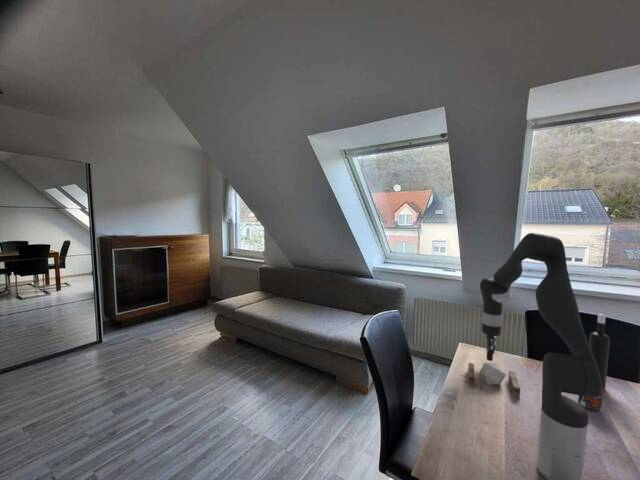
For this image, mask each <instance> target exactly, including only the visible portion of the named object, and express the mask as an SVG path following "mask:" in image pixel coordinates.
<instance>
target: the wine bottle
mask: <svg viewBox="0 0 640 480" xmlns="http://www.w3.org/2000/svg"><path fill="white" fill-rule="evenodd" d="M606 318H607V315H606V314H604V313H597V325H596V326H597V327H596V331H593V332H590V333H589V340H588V344H589V346H590V349H591V351H592V354H593V356H594V359H595V361H596V364H597V366H598V369H599V373H600V376H601V381H602V387H603V390H604V391H605V390H606V383H607V373H608V372H607V371H608V366H609V365H608V363H609V354H610V344H611V338H610V336H609V335H608V334H606V333H605V324H606Z"/></svg>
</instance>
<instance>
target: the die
mask: <svg viewBox="0 0 640 480" xmlns="http://www.w3.org/2000/svg"><path fill="white" fill-rule="evenodd" d="M478 374H479V375H480V376H481V378H482V380H483V381H484V382H485V384H486V385H487V386H499V385H501V384H502V382H503V381H504V379H505V377H506V376H507V375H506V372H504V370H503V369H502V368H501V367H500V366H499V364H498V363H497V362H484V364H483V365H482V367H481V369H480V370H479V372H478Z"/></svg>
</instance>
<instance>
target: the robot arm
mask: <svg viewBox="0 0 640 480" xmlns="http://www.w3.org/2000/svg"><path fill="white" fill-rule="evenodd" d="M512 251H513V252H512V253H511V254H510V256H509V258H508V259H507V261H505V263H504V264H503V265H502V266H501V267H500V268H498V269H497V270H496V272H495V273H494V274H493V277H490V278H489V277H487V278H482V279H481V281H480V283H479V289H480V293H481V297H482V302H483V305H482V306H483V307H482V308H483V309H482V310H483V311H482V314H481V332H482V333H483V334H485V336H484V337H485V347H486V360H487V361H490V362H493V360H494V354H495V351H496V344H497V337H499V336H501V335H502V327H503V314H502V312H503V303H502V301H501V300H500V299H496V298H493V295H504V294H506V293H508V291H509V290H510V289H511V288H510V287H511V286H512V285H513V283H515V282H516V281H517V280H518V279H519V278H520V277H521V276H522V273H523V265H522V264H523V261H525V260H526V259H529V260H534V261H536V262H537V261H538V262H542V263H544V264H545V266H546V275H545V276H544V277H543V279H542V280H541V281H540V282H539V284H538V286H537V288H536V289H535V300H536V305H537V309H538V312H539V313H538V314H539V315H540V316H541V318H542V319H543V320H544V321H545V323H547V324H548V325H549V326H550V327H551V329H553V330H554V331H555V333H556V334H558V336H559V337H560V338H561V339H562V340H563V341H564V343H565V344H566V346H567V348H568V349H569V352H570V355H569V354H563V353H556V352H547V353H545V354H544V356H543V359H542V371H541V372H542V373H541V374H542V376H541V377H542V381H541V383H542V384H541V386H542V387H541V408H540V409H541V410H540V421H539V422H540V423H539V432H538V433H539V435H538V444H537V445H538V446H537V459H536V467H537V470H538V472H539V473H540V475H541V476H542V477H543V478H544V479H545V480H546V479H547V480H583V479H584V477H583V476H584V466H585V457H586V456H585V455H586V445H587V436H588V435H587V434H588V425H589V414H588V410H586V409H584V408H583V407H582V406H581V405H580V404H579V403H578V401H576V400H574V399H571V398H570V397H568V396H566V395H564V394H570V395H574V396H575V395H576V396H579V395H580V396H585V397H591V398H597V397H599V396H600V395H601V392H602V381H601V376H600V373H599V369H598V366H597V364H596V361H595V359H594V356H593V354H592V351H591V349H590V346H589V340H588V339H587V336H586V333H585V330H584V327H583V324H582V319H581V315H580V311H579V306H578V303H577V299H576V295H575V294H574V290H573V287H572V283H571V280H570V276H569V271H568V266H567V257H566V252H565V251H566V249H565V246H564V243H563V241H562V240H561V239H560V238H559V237H557V236H553V235H547V234H543V233H538V232H529V233H527V234H526V235H524V236H523V237H522V239H520V241H519V243H518V244H517V245H516V247H515V249H513V250H512ZM562 393H564V394H562Z"/></svg>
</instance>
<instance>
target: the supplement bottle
mask: <svg viewBox="0 0 640 480" xmlns="http://www.w3.org/2000/svg"><path fill="white" fill-rule="evenodd" d="M603 393H604V391H603V387H602V392H601V395H600V396H599V397H597V398H591V397H585V396H580V395H578V399H577V400H578V401H577V403H578V404H580V405H581V406H582V407H583V408H584V409H585V410H586V411H587V412H591V413H599V412H601V409H602V402H603Z"/></svg>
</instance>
